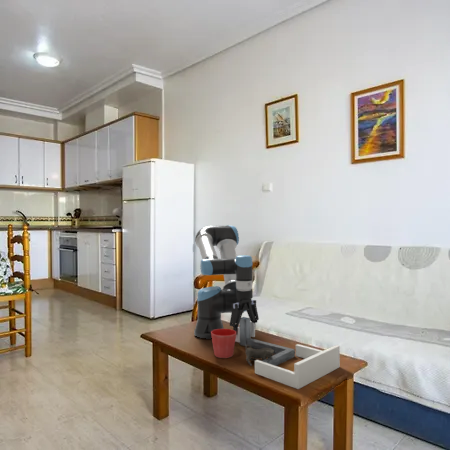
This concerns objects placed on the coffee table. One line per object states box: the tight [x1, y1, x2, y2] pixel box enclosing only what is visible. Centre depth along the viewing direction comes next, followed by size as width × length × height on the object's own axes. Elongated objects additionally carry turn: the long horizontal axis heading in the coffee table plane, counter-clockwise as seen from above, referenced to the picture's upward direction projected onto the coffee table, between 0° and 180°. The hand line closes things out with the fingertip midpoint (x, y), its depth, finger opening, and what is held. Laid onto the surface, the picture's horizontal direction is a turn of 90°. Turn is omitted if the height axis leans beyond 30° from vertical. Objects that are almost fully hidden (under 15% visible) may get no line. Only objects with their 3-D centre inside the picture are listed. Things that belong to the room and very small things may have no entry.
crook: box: [238, 316, 296, 367], centre depth 155 cm, size 27×19×12 cm
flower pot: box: [211, 328, 236, 359], centre depth 156 cm, size 11×11×10 cm
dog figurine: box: [244, 345, 274, 367], centre depth 146 cm, size 12×6×7 cm, turn 88°
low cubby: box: [254, 343, 341, 390], centre depth 139 cm, size 19×27×8 cm
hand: (244, 338), depth 169 cm, fingers open, 9 cm apart
